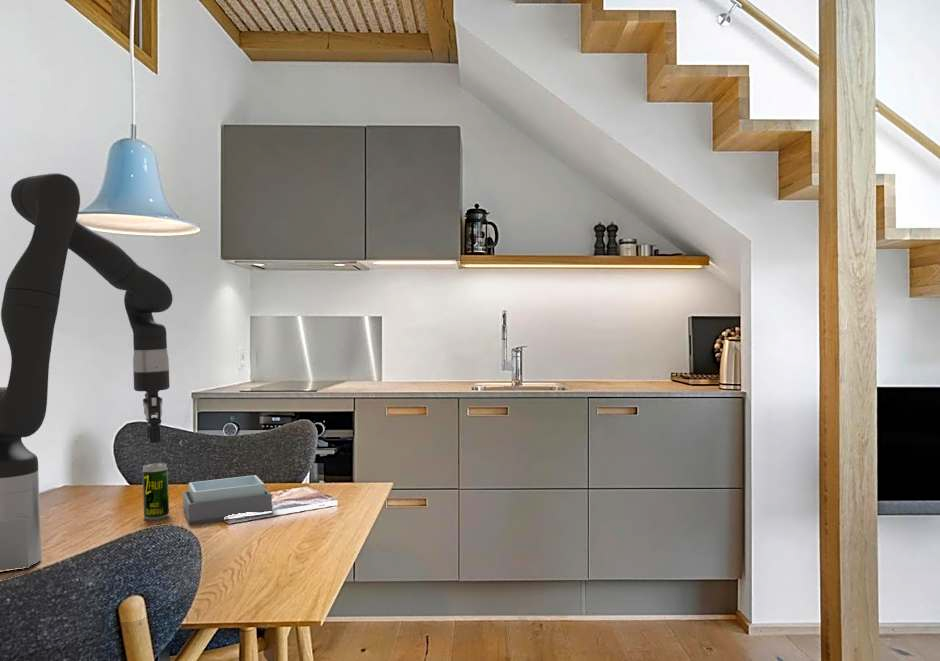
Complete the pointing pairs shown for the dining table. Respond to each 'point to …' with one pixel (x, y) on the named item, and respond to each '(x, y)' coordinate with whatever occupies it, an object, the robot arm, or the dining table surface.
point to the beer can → (155, 491)
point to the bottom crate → (224, 507)
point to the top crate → (225, 489)
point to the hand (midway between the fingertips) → (154, 439)
